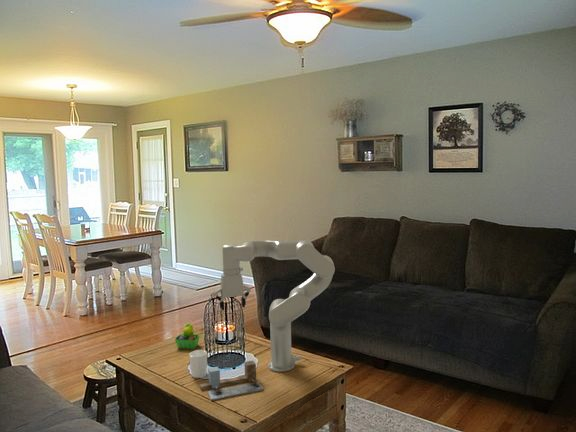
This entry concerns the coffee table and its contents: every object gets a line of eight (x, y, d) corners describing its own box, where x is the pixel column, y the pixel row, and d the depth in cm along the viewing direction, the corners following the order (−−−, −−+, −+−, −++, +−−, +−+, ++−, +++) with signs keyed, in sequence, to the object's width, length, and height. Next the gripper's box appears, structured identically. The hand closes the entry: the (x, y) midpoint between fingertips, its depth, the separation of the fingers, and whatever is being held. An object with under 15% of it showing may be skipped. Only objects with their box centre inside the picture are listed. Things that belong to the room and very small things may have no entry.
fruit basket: (174, 348, 245) (173, 327, 243) (181, 342, 253) (180, 321, 252) (195, 349, 243) (194, 328, 242) (201, 343, 252) (200, 322, 250)
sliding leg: (218, 382, 206) (217, 366, 205) (221, 389, 199) (221, 372, 199) (208, 384, 204) (208, 367, 203) (212, 391, 198) (211, 374, 197)
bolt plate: (258, 383, 205) (258, 381, 204) (263, 390, 198) (263, 388, 198) (207, 393, 197) (207, 391, 197) (211, 401, 190) (211, 398, 190)
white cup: (204, 379, 210) (203, 357, 209) (187, 377, 211) (186, 356, 210) (210, 371, 217) (209, 350, 216) (194, 370, 219) (193, 349, 218)
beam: (253, 376, 211) (252, 360, 211) (258, 382, 205) (257, 366, 204) (199, 386, 203) (198, 369, 202) (202, 393, 197) (201, 376, 196)
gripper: (247, 267, 223) (248, 303, 225) (211, 271, 217) (212, 308, 219) (252, 271, 216) (253, 307, 218) (214, 275, 210) (216, 313, 212)
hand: (233, 308), depth 218 cm, fingers open, 9 cm apart
